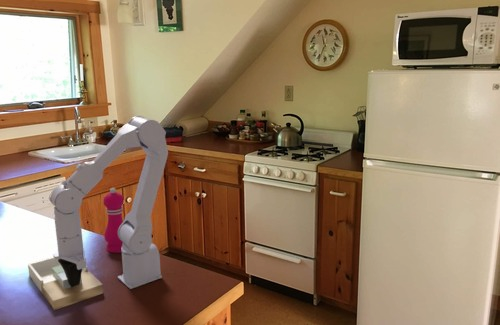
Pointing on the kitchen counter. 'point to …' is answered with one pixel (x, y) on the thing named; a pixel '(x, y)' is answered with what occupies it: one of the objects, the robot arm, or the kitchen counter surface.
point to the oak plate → (72, 291)
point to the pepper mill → (113, 220)
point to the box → (44, 271)
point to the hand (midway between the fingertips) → (74, 284)
